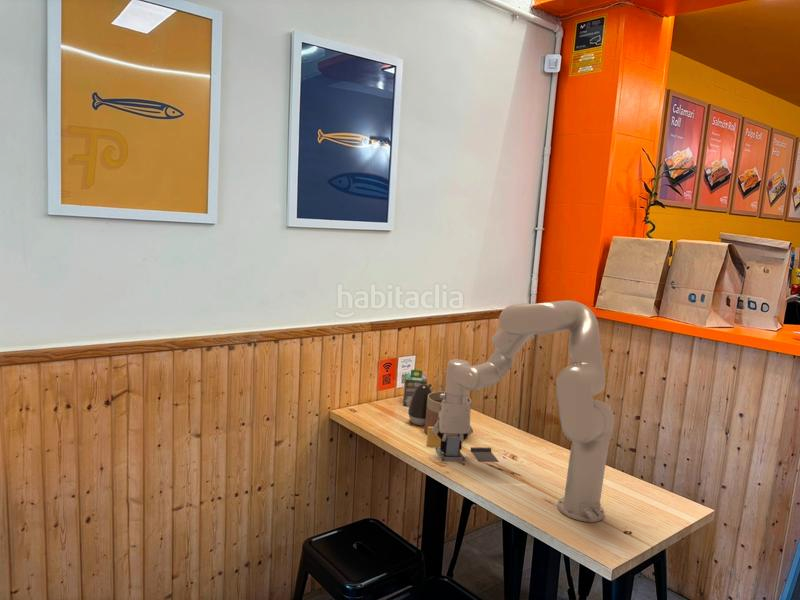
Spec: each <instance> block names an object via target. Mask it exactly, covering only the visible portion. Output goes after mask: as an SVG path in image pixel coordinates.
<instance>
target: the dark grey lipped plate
mask: <svg viewBox="0 0 800 600" xmlns="http://www.w3.org/2000/svg"><path fill="white" fill-rule="evenodd" d="M470 452H471V454H472V455H473V456H474V457H475V459H476V460H477V462H478V463H484V462H485V463H486V462H487V463H490V462H491V463H498V462H499V460H498V458H497V457H496V456H495V454H494V453H492V448H491V447H478V446H477V447H475V446H473V447H472V446H471V447H470Z"/></svg>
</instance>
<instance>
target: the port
mask: <svg viewBox="0 0 800 600" xmlns="http://www.w3.org/2000/svg"><path fill="white" fill-rule="evenodd" d="M432 428H433V427H428V433H427V434H426V447H427V448H428V447H435V453H436V454H437V456H438V457H439V459H440V460H441V462H465V460H466V458H465V456H464V455H463V453H462V452H461V451H460V453H458V456H445V454H444V453H443V451H442V450H441V448H440V445H441V439H440V437H439V436H438V435H436V434H435V433H433V432H432ZM438 431H440V430H439V428H438ZM440 433H441V432H440Z"/></svg>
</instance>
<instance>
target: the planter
mask: <svg viewBox="0 0 800 600" xmlns="http://www.w3.org/2000/svg"><path fill="white" fill-rule="evenodd" d="M444 391H445V390H444ZM444 391H443V390H440V391H432V393H430V394H428V398H427V408H426V418H425V425H424V432H425V434H426V435H427V433H428V427H434V425H435V424H436V423H437V420H438V414H439V409H440V406H441V402H442V400H444V399H443V398H440V394H444ZM467 402H468V403H469V404H470V412H471V410H472V409H471V408H472V399H471V398H470V397H468V399H467ZM467 437H468V436H467ZM467 437H466V438H465V439H467Z"/></svg>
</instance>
